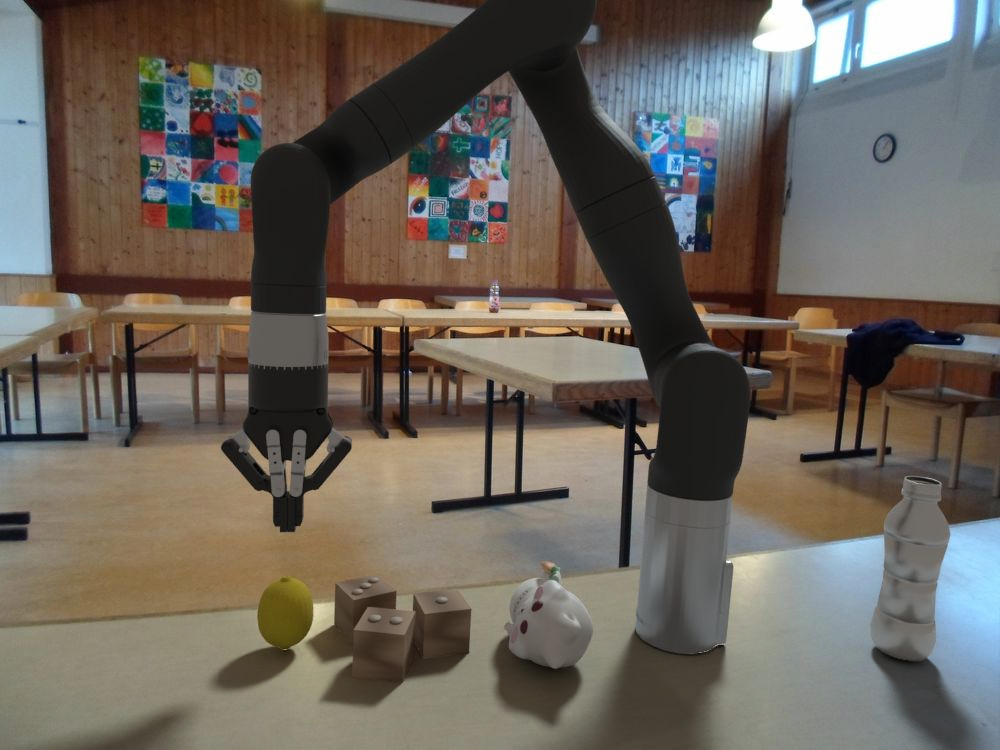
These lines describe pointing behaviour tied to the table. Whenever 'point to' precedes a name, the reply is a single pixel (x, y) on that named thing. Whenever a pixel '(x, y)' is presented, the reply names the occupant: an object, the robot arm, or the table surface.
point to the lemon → (285, 612)
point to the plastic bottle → (911, 572)
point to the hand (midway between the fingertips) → (288, 529)
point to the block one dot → (441, 623)
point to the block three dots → (360, 601)
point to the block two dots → (383, 644)
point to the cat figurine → (548, 621)
